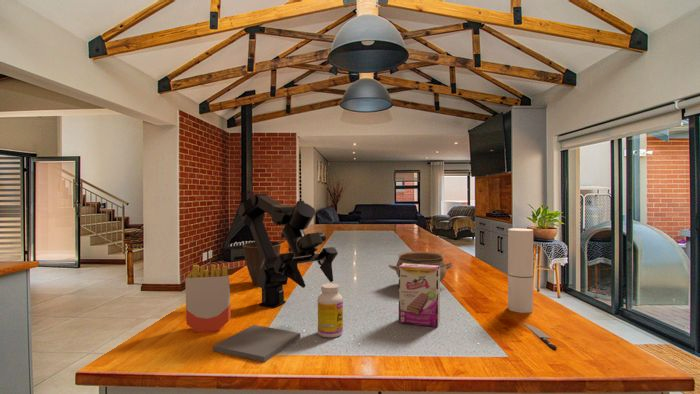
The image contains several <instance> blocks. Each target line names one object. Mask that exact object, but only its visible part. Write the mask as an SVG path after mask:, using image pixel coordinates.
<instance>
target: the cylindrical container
mask: <svg viewBox="0 0 700 394" xmlns="http://www.w3.org/2000/svg"><path fill="white" fill-rule="evenodd" d="M507 309H508V310H509V311H511V312H515V313H521V314H530V313H532V312H534V229H532V228H522V227H521V228H519V227H517V228H514V227H513V228H508V229H507Z"/></svg>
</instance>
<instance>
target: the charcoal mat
mask: <svg viewBox="0 0 700 394" xmlns="http://www.w3.org/2000/svg"><path fill="white" fill-rule="evenodd" d="M299 339H301V332H297V331H291V330H284V329H280V328H279V329H278V328H274V327H270V326H269V327H268V326H263V325H256V324H252V325H251V326H248V327H246V328H244V329H243V330H241V331H239V332H237V333H235V334H233V335H231V336H229V337H227V338H225V339H224V340H221V341H220V342H217V343H216V344H214V345H212V351H213V352H218V353H221V354H225V355H231V356H235V357H240V358H243V359H249V360H253V361H256V362H257V361H258V362H262V363H265V362H267V361H269V360H270V359H271V358H273V357H274V356H276V355H277V354H278V353H280V352H282V351H284V350H285V349H286V348H287V347H289V346H290V345H292V344H293V343H294V342H296V341H298V340H299Z"/></svg>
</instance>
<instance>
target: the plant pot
mask: <svg viewBox="0 0 700 394" xmlns="http://www.w3.org/2000/svg"><path fill="white" fill-rule="evenodd" d="M270 241H271V240H270ZM271 244H272V246H273V249H274V251H275V254H276V255H277V256H279V254H281V244H282V243H281V242H280V241H274V240H273V241H271ZM242 248H243V250H242V251H243V254H244V255H243V256H244V260H245V263H246V267H247V271H248V274H249V276H250V279H251V281H252V285H254V286H258V285H257V278H258V277H259V275H260V273H261V272H260V268H261V265H262V259H261V257H260V254H259V251H258V249H257V246H256V243H255V241H252V242H246V243H244V244H242Z"/></svg>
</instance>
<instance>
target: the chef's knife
mask: <svg viewBox="0 0 700 394" xmlns="http://www.w3.org/2000/svg"><path fill="white" fill-rule="evenodd" d="M522 324H523V325H524V326H525V327H527V329H529V330H530V331H531V332H532V333H533V334H534V335H535V336H536V337H537V338H538V339H540V340H541V341H542V342H544V343H545V344H546V345H547V346H548V347H549V348H550V349H551V350H553V351H556V350H557V349H558V347H557V346H556V345H555V344H552V343H551V342H550V341H549V340H548V339H550V340H551V337H550V336H549V335H547V334H546V333H545V332H543V331H542V330H540V329H539V328H537V327H536V326H533V325H532V324H528V323H527V322H523V323H522Z"/></svg>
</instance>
